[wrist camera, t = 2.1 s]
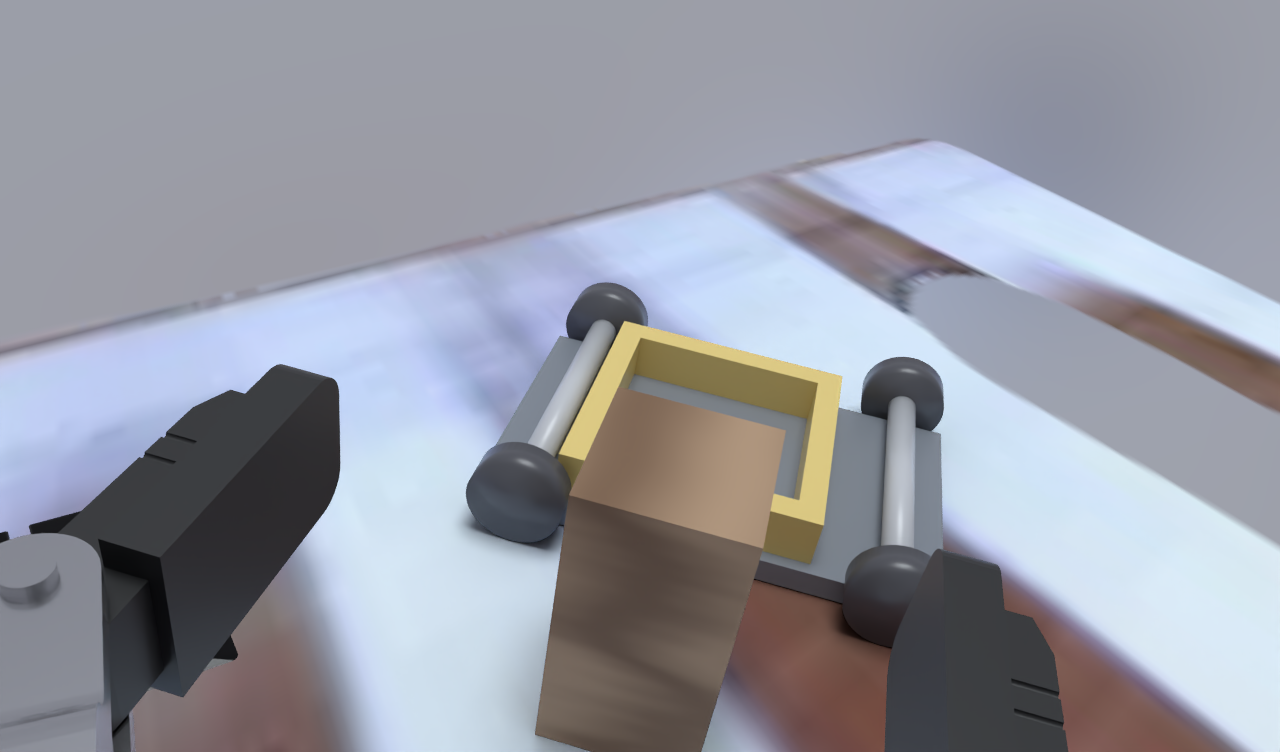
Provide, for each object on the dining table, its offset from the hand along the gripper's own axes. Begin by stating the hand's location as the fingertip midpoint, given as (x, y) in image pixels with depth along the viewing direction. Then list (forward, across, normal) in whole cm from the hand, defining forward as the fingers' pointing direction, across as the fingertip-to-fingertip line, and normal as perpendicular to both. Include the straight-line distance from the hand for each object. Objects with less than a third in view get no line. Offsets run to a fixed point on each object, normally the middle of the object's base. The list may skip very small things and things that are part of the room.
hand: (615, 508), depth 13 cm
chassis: (+23, -1, +18) cm, 29 cm away
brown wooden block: (+11, 0, +18) cm, 21 cm away
